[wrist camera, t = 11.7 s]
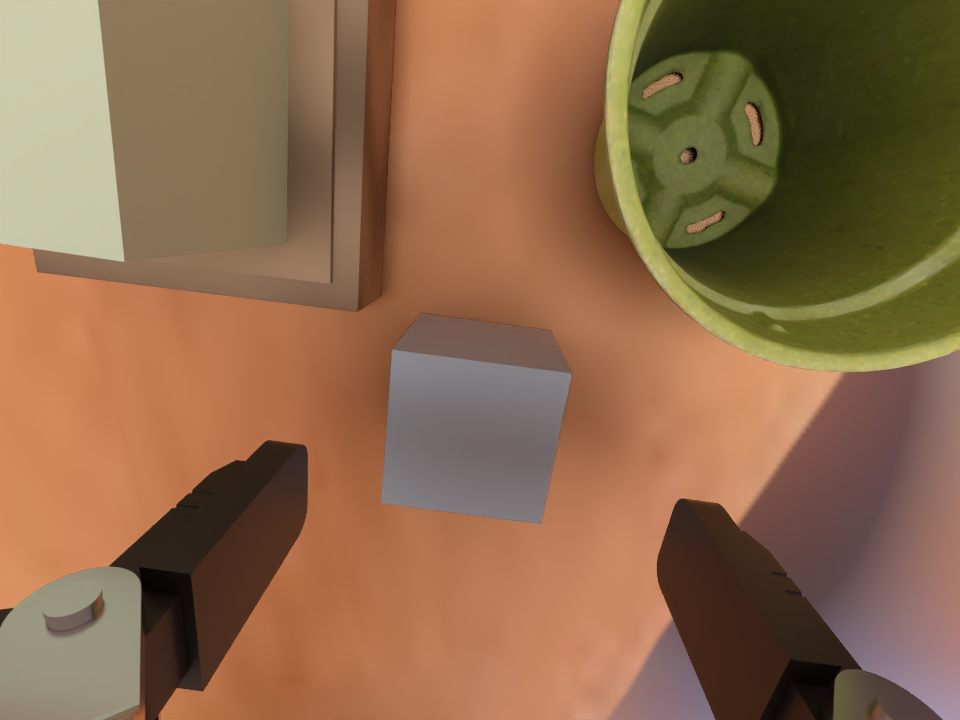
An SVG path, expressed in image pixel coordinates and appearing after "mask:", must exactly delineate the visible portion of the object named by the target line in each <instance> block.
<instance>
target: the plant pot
mask: <svg viewBox="0 0 960 720" xmlns="http://www.w3.org/2000/svg"><path fill="white" fill-rule="evenodd" d="M673 72H676V73H681V74H682V76H683V80H682V81H681V82H678V83H676V84H674V85H671V86H669V87H666V88H663V89H661V90H660V91H658V92H655V93H654V94H653V95H652V96H650V97H648V98H647V99H644V98H643V97H642V96H643V94H644V90H645V88H646V87H647V86H649V85H650V84H651V83H653V82H654V81H656V80H658V79H660V78H661V77H663V76H665V75H666V74H670V73H673ZM748 102H751V103H754V105H755V106H756V107H757V108H758V110H759V112H760V114H761V117H762V124H763V140H762V142H761V144H760V145H759V146H756V145H754V144H753V138H752V133H751V124H750V121H749V118H748V116H747V114H746V112H745V106H746V104H747V103H748ZM686 148H695V149H696V151H697V157H696V159H695V160H694V161H693V162H690V163H689V164H685V163H683V162H682V161H681V159H680V156H681V154H682V152H683V151H684V150H685V149H686ZM594 176H595V183H596V188H597V192H598V195H599V198H600V201H601V203H602V205H603V207H604V209H605V211H606V212H607V214H608V216H609V217H610V219H611V220H612V221H613V223H614V224H615V225H616V226H617V227H618V228H619V229H620V230H621V231H622V232H623V233H624V234H626V235H627V236H628V237H629V239H630V241H631V243H632V245H633V247H634V249H635V250H636V252H637V254H638V255H639V257H640V259H641V261H642V262H643V264H644V266H645V267H646V269H647V270H648V272H649V273H650V274H651V276H652V277H653V279H654V280H655V281H656V283H657V284H658V285H659V286H660V287H661V288H662V290H663V291H664V292H665V293H666V294H667V295H668V297H669V298H670V299H671V300H672V301H673V302H674V303H675V304H676V305H677V306H678V307H679V308H680V309H681V310H682V311H684V312H685V313H686V314H687V315H688V316H689V317H691V318H692V319H693V320H694V321H696V322H697V323H698V324H699V325H701V326H702V327H703V328H705V329H706V330H707V331H709V332H710V333H712V334H713V335H715V336H716V337H718V338H719V339H721V340H723V341H724V342H726V343H727V344H729V345H732V346H734V347H736V348H738V349H740V350H742V351H744V352H747V353H749V354H751V355H754V356H756V357H759V358H762V359H765V360H768V361H771V362H774V363H778V364H782V365H786V366H790V367H794V368H800V369H807V370H817V371H830V372H862V371H876V370H885V369H893V368H898V367H902V366H908V365H914V364H917V363H921V362H925V361H928V360H931V359H934V358H937V357H941V356H945V355H947V354H949V353H952V352H954V351H956V350H958V349H960V0H620V2H619V5H618V9H617V13H616V17H615V21H614V25H613V30H612V34H611V38H610V43H609V49H608V55H607V61H606V70H605V79H604V97H603V120H602V123H601V126H600V129H599V132H598V136H597V140H596V145H595V151H594ZM719 211H724V212H725V214H724V218H723V219H722V221H720V222H717V223H715V224H714V225H711V226H709V227H708V228H707V229H706V230H704V231H702V232H699V233H693V234H689V233H688V232H687V231H686V228H687V226H688V225H690V224H694V223H696V222H699V221H702V220H705V219H706V218H708V217H711V216H712V215H715V214H716V213H718V212H719Z"/></svg>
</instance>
